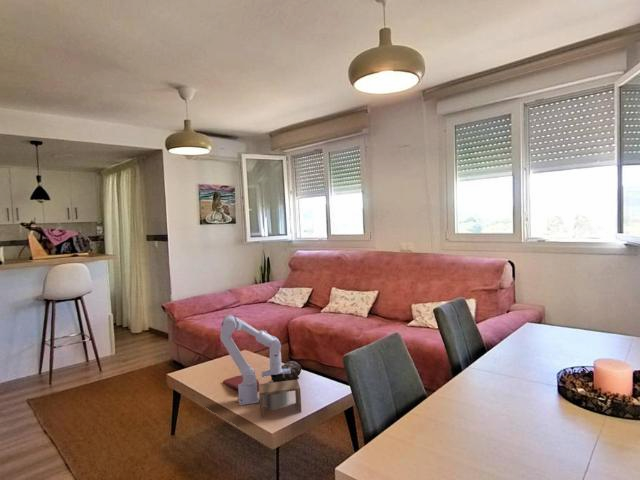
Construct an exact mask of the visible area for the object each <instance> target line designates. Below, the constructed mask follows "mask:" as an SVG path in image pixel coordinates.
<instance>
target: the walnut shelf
mask: <svg viewBox="0 0 640 480" xmlns="http://www.w3.org/2000/svg"><path fill="white" fill-rule="evenodd" d="M298 380H299V379H298ZM298 380H289V381H281V382H267V383H259V392H258V397H259V409H260V410H259V411H260V418H261V419H264V418H265V412H264V405H263V395H266V394H274V393H281V392H289V393H290V392H295V393H294V394H295V405H296V408H297V411H298V413H299V414H300V413H302V400H301V399H302V395H301V393H302V392H301V386H300V384H299V381H298Z"/></svg>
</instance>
